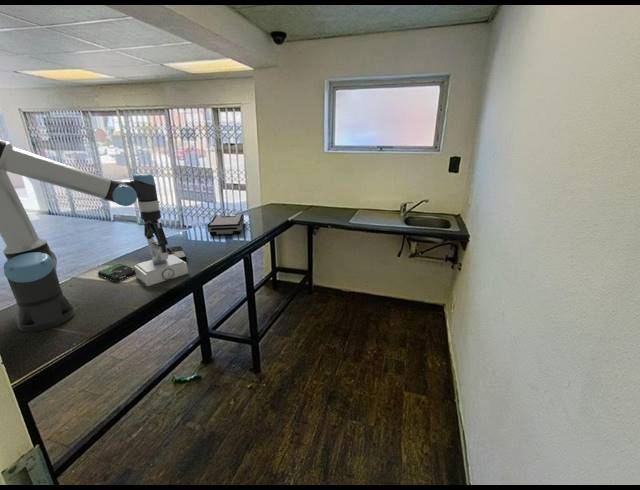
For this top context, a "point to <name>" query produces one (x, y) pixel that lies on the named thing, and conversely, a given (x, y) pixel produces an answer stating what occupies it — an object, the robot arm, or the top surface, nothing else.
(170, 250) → the multimeter
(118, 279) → the disk drive
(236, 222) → the game console
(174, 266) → the scale
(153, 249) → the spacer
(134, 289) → the top surface
